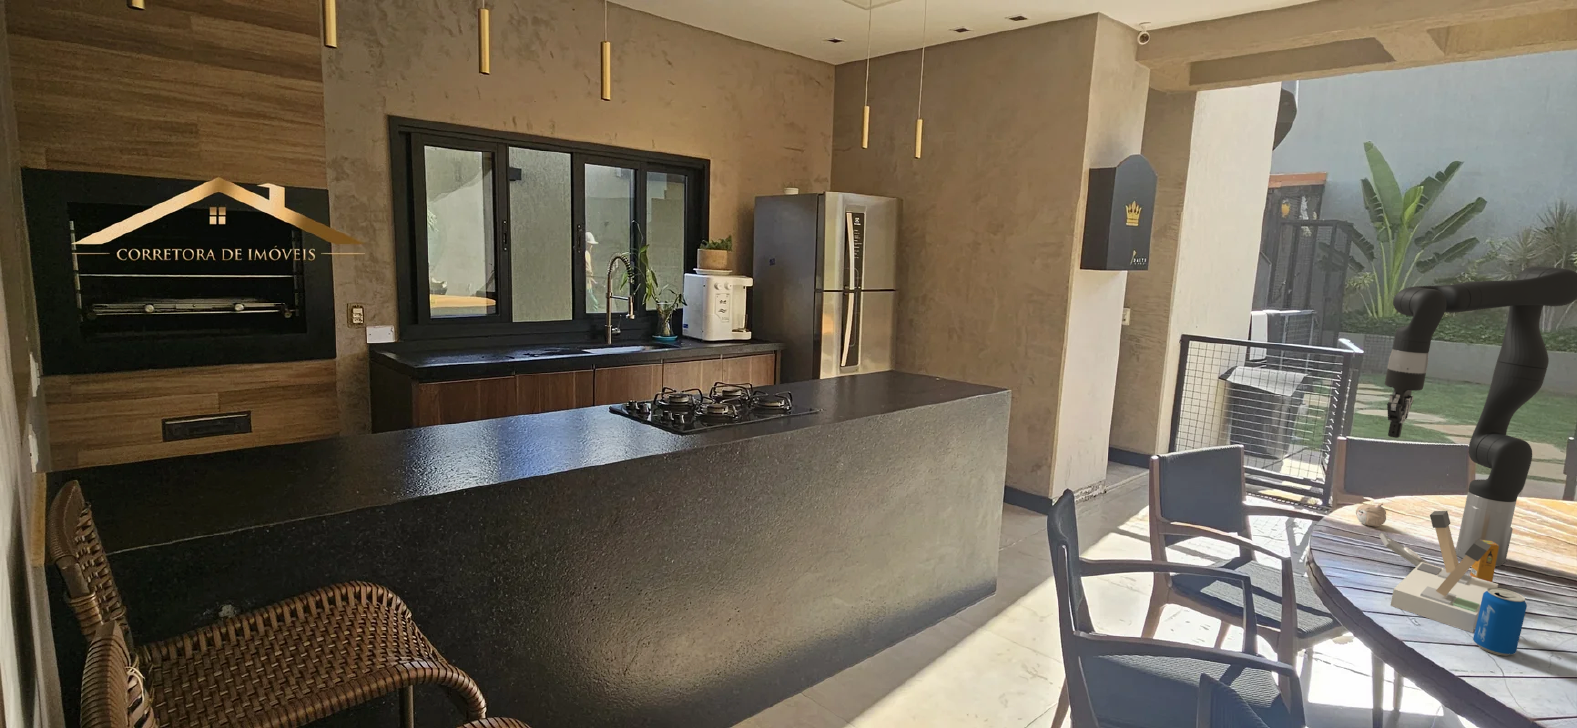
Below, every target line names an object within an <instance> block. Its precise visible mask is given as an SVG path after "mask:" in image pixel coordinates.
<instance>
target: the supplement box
mask: <svg viewBox="0 0 1577 728" xmlns="http://www.w3.org/2000/svg"><path fill="white" fill-rule="evenodd" d="M1482 541H1484V542H1485V543H1487V544H1489V545H1491V547H1490V548H1489V549H1488V550H1487V551H1486V553H1485V554H1484V555H1483V556H1482V557H1481V558H1480V560H1479V561H1478V562H1477V561H1475V562H1474V564H1473V565H1472V566H1471V567H1470V572H1469V575H1471V576H1472V577H1476V578H1479V579H1482V580H1486V581H1489V582H1493V580H1494V574H1495V571H1496V566H1495V565H1496V560H1497V555H1498V550H1499V545H1497V544H1496V543H1494V542H1492V541H1487V540H1482Z"/></svg>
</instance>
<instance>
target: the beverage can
mask: <svg viewBox="0 0 1577 728" xmlns="http://www.w3.org/2000/svg"><path fill="white" fill-rule="evenodd" d="M1527 607H1528V605H1527V603H1526V597H1524V596H1523V595H1521V594H1520V593H1518V592H1515V591H1513V590H1510V589H1506V588H1501V587H1498V588H1495V587H1490V588H1488V589H1487V591H1486V592H1484V593H1483V597H1482V601H1481V606H1480V610H1479V615H1478V619H1477V624H1476V628H1475V629H1474V634H1473V636H1472V637H1473V638H1472V641H1473V642H1474V643H1475V644H1476V645H1477V647H1478V648H1480V649H1482V650H1483V651H1485V652H1488V653H1491V654H1494V655H1496V656H1506V657H1507V656H1510V655H1515V654H1516V653H1517V651H1518V647H1519V646H1518V645H1519V641H1520V637H1521V634H1522V628H1523V624H1524V620H1525V616H1526V611H1527Z"/></svg>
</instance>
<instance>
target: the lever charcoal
mask: <svg viewBox="0 0 1577 728" xmlns="http://www.w3.org/2000/svg"><path fill="white" fill-rule="evenodd" d="M1448 511H1449V510H1434V511H1433V512H1431V513H1430V514H1429V517H1430V520H1431V521H1430V522H1431V525H1432V528H1433V529H1435V533H1436V536H1437V540H1438V546H1439V548H1440V553H1441V556H1442V560H1443V565H1444V568H1445V569H1446V573H1451V572H1452V571H1453V570H1454V569H1455V568H1456V566H1457V565H1458V564H1459V563H1460V562H1459V560H1458V556H1457V555H1456V548H1455V544H1454V540H1453V537H1452V533H1451V528H1450V525H1451V520H1450V516H1449V512H1448Z"/></svg>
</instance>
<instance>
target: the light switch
mask: <svg viewBox="0 0 1577 728" xmlns="http://www.w3.org/2000/svg"><path fill="white" fill-rule="evenodd" d="M1378 536H1379V537H1380V540H1381V541H1382V543H1383V545H1384V546H1385V547H1386V548H1388V549H1389V550H1391V551H1392V552H1393V553H1396V554H1397V555H1398V556H1400V557H1402V558H1403V559H1405V560H1406V561H1408V562H1409V563H1411V564H1413V565H1414V566H1415V567H1417V566H1418V565H1419V564H1420V563H1421V562H1424V563H1427V564H1431V563H1430V562H1428V561H1426V560H1425V559H1424V558H1423V557H1421V556H1420V555H1419V554H1418V553H1416V552H1415V551H1413V549H1410V548H1409V547H1406V546H1404V545H1402V544H1400V543H1399V542H1397V541H1396V540H1394V539H1393V538H1391V537H1389V536H1388V535H1386V534H1385V533H1380V534H1379V535H1378Z"/></svg>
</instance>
